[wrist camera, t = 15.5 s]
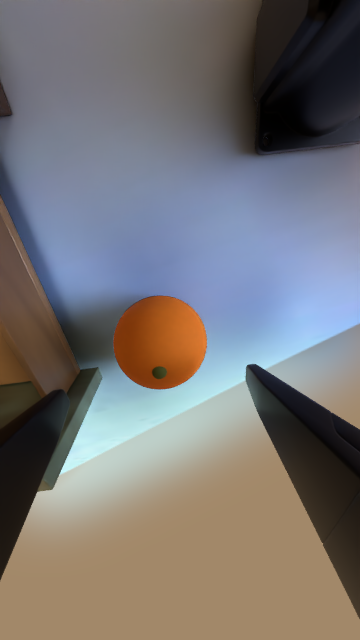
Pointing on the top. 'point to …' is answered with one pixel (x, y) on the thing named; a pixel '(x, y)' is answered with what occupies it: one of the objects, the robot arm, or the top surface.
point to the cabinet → (3, 104)
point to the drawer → (36, 349)
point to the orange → (160, 342)
